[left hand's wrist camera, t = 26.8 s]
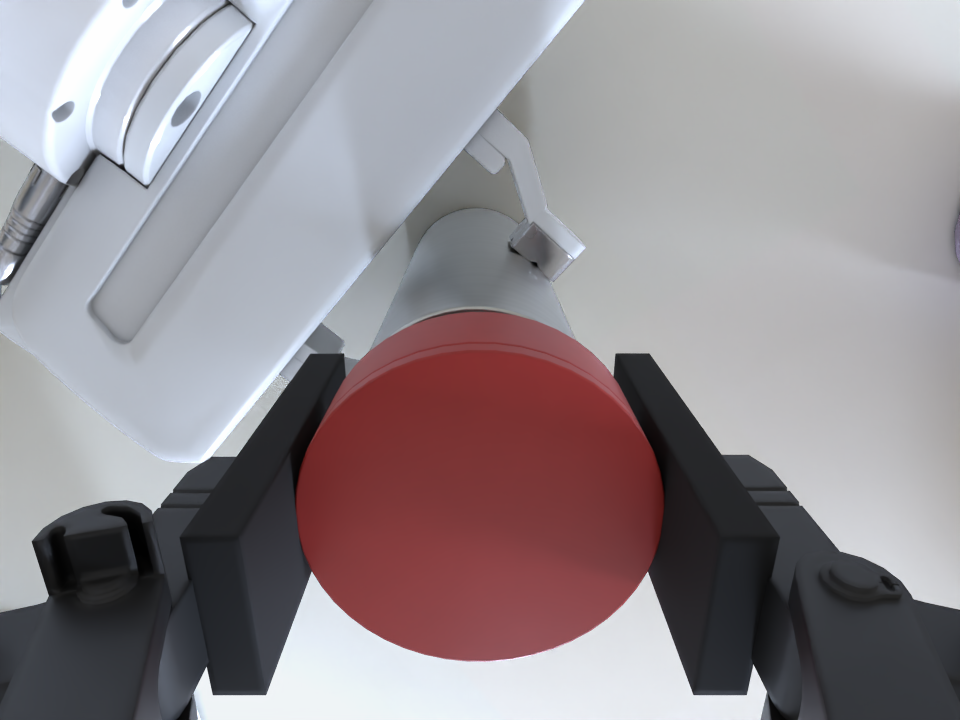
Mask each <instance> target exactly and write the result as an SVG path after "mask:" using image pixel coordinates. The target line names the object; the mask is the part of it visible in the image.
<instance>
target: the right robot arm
mask: <svg viewBox="0 0 960 720" xmlns="http://www.w3.org/2000/svg"><path fill="white" fill-rule="evenodd" d="M584 1H585V0H0V137H1V138H2V139H3V140H5V141H6V142H7V143H9V144H10V145H11V146H13V147H14V148H15V149H17V150H18V151H19V152H21V153H22V154H24V155H25V156H26V157H28V158H29V159H30V160H32V161H33V162H34V163H35V164H34V165H33V167H32V169H31V171H30V173H29V174H28V176H27V178H26V180H25V181H24V183H23V185H22V187H21V188H20V190H19V192H18V194H17V196H16V198H15V200H14V202H13V205H12V207H11V210H10V213H9V215H8V218H7V220H6V222H5V224H4V226H3V227H2V229H1V230H0V332H1V333H2V334H3V335H5V336H6V337H7V338H8V339H10V340H11V341H13V342H14V343H16V344H17V345H19V346H20V347H22V348H23V349H25V350H26V351H28V352H29V353H31V354H32V355H34V356H35V357H36V358H37V359H38V360H39V361H40V362H41V363H42V364H43V365H44V366H45V367H46V368H47V369H48V370H49V371H50V372H51V373H52V374H53V375H54V376H56V377H57V378H58V379H59V380H60V381H61V382H62V383H63V384H64V385H66V386H67V387H68V388H69V389H70V390H71V391H72V392H73V393H75V394H76V395H77V396H78V397H79V398H80V399H82V400H83V401H84V402H85V403H86V404H88V405H89V406H90V407H91V408H92V409H94V410H95V411H96V412H97V413H98V414H100V415H101V416H102V417H103V418H105V419H106V420H107V421H108V422H110V423H111V424H112V425H113V426H115V427H116V428H117V429H119V430H120V431H121V432H123V433H124V434H125V435H126V436H128V437H129V438H130V439H132V440H133V441H134V442H136V443H137V444H139V445H140V446H141V447H143V448H144V449H146V450H147V451H149V452H150V453H152V454H153V455H155V456H156V457H158V458H160V459H162V460H165V461H169V462H183V463H203V462H204V461H206V460H207V459H209V458H210V457H211V456H212V455H213V453H214V452H215V451H216V450H217V449H218V447H219V446H220V445H221V444H222V443H223V441H224V440H225V439H226V438H227V436H228V435H229V434H230V433H231V432H232V430H233V429H234V428H235V427H236V426H237V424H238V423H239V422H240V421H241V419H242V418H243V417H244V416H245V415H246V413H247V412H248V411H249V410H250V409H251V407H252V406H253V405H254V404H255V402H256V401H257V400H258V399H259V398H260V396H261V395H262V394H263V393H264V391H265V390H266V389H267V388H268V386H269V385H270V384H271V383H272V382H273V380H274V379H275V378H276V377H277V375H278V374H280V375H281V376H283V377H284V378H286V379H287V380H288V381H291V380H292V379H293V377H294V376H295V374H296V373H297V372H298V370H299V369H300V367H301V366H302V365H303V363H304V362H305V360H306V359H307V357H308V356H309V355H310V354H340V353H341V351H342V349H343V347H344V346H345V345H344V341H343V340H342V339H341V338H340V337H338V336H337V335H336V334H334V333H333V332H332V331H331V330H329V329H328V328H327V327H326V326H324V325H323V324H322V323H321V322H322V321H323V319H324V318H325V317H326V316H327V314H328V313H329V312H330V311H331V310H332V308H333V307H334V306H335V305H336V303H337V302H338V301H339V300H340V299H341V297H342V296H343V295H344V294H345V293H346V291H347V290H348V289H349V288H350V286H351V285H352V284H353V283H354V282H355V280H356V279H357V278H358V277H359V275H360V274H361V273H362V272H363V271H364V269H365V268H366V267H367V266H368V264H369V263H370V262H371V261H372V260H373V258H374V257H375V256H376V255H377V253H378V252H379V251H380V250H381V249H382V247H383V246H384V245H385V244H386V242H387V241H388V240H389V239H390V238H391V236H392V235H393V234H394V233H395V232H396V230H397V229H398V228H399V227H400V225H401V224H402V223H403V222H404V221H405V219H406V218H407V217H408V216H409V214H410V213H411V212H412V211H413V210H414V208H415V207H416V206H417V205H418V203H419V202H420V201H421V200H422V199H423V197H424V196H425V195H426V194H427V192H428V191H429V190H430V189H431V188H432V186H433V185H434V184H435V183H436V181H437V180H438V179H439V178H440V177H441V175H442V174H443V173H444V172H445V171H446V169H447V168H448V167H449V166H450V164H451V163H452V162H453V161H454V160H455V158H456V157H457V156H458V155H459V153H460V152H461V151H462V150H463V149H464V150H465V151H466V152H467V153H468V154H469V155H471V156H472V157H473V158H474V159H475V160H476V161H477V162H478V163H479V164H481V165H482V166H483V167H484V168H485V169H486V170H487V171H488V172H489V173H491V174H496V173H498V172H499V171H500V169H501V168H502V167H503V166H504V165H505V158H506V159H507V162H508V165H509V168H510V171H511V174H512V178H513V181H514V184H515V187H516V190H517V193H518V197H519V200H520V203H521V206H522V209H523V213H524V216H525V218H524V219H523V221H522V222H521V223H520V224H519V225H518V227H517V228H516V229H515V230H514V231H513V232H512V234H511V235H510V236H509V237H510V240H511V241H512V242H511V245H512V247H513V248H514V249H515V250H516V251H517V252H518V253H519V254H520V255H522V256H523V257H525V258H526V259H527V260H529V261H530V262H536V264H537V266H538V269H539V270H540V271H541V272H542V273H543V274H544V276H545V277H547V278H548V279H549V280H550V281H552V282H554V281H555V280H556V279H557V278H558V277H559V275H560V274H561V273H562V272H563V271H564V270H565V269H566V268H567V267H568V266H569V265H570V264H571V263H572V262H573V261H574V260H575V259H576V258H577V257H578V255H579V254H580V253H581V252H582V251H583V250H584V249H585V248H586V246H585V245H584V244H583V243H582V241H581V240H580V239H579V238H578V237H577V236H576V235H575V234H574V233H573V232H572V231H571V230H570V229H569V228H568V227H567V226H566V225H564V224H563V223H562V222H561V221H560V220H559V219H558V218H557V217H556V216H555V215H554V214H553V213H551V212H550V211H549V210H548V209H547V208H546V207H547V206H548V205H547V202H546V199H545V195H544V192H543V188H542V185H541V182H540V178H539V175H538V171H537V168H536V165H535V161H534V158H533V154H532V151H531V148H530V144H529V141H528V139H527V138H526V137H525V136H524V135H523V134H522V133H521V132H520V131H519V130H518V129H517V128H516V127H515V126H514V125H513V124H512V123H511V122H510V121H509V120H508V119H507V118H506V117H505V116H504V115H503V114H502V113H500V112H499V111H498V110H497V109H496V108H497V107H498V106H499V105H500V103H501V102H502V101H503V100H504V99H505V97H506V96H507V95H508V94H509V92H510V91H511V90H512V89H513V88H514V86H515V85H516V84H517V83H518V81H519V80H520V79H521V78H522V77H523V75H524V74H525V73H526V72H527V70H528V69H529V68H530V67H531V66H532V64H533V63H534V62H535V61H536V60H537V58H538V57H539V56H540V55H541V54H542V52H543V51H544V50H545V49H546V47H547V46H548V45H549V44H550V43H551V41H552V40H553V39H554V38H555V36H556V35H557V34H558V33H559V32H560V30H561V29H562V28H563V27H564V25H565V24H566V23H567V22H568V21H569V19H570V18H571V17H572V16H573V14H574V13H575V12H576V11H577V10H578V8H579V7H580V6H581V5H582V3H583V2H584ZM2 285H8V287H7V288H6V290H5V292H4V293H3V295H2V294H1V288H2ZM344 359H345V371H346V377H347V375H348V374H349V373H350V371H351V370H352V369H353V367H354V366H355V365H356V364H357V363H358V362H359V361H360V360H355V359H350V358H346V357H344ZM197 715H198V720H201V719H200V716H199V713H198V711H197Z"/></svg>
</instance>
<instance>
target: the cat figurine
mask: <svg viewBox="0 0 960 720" xmlns="http://www.w3.org/2000/svg"><path fill="white" fill-rule="evenodd" d="M955 246H956V255H957V258H958V260H959V262H960V214H959V217H958V221H957V225H956V228H955Z"/></svg>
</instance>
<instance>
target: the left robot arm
mask: <svg viewBox="0 0 960 720" xmlns="http://www.w3.org/2000/svg"><path fill="white" fill-rule="evenodd" d="M345 378H346V371H345V359H344V354H310V355H309V356H308V357H307V359H306V360H305V362H304V363H303V365H302V366H301V367H300V369H299V370H298V372H297V373H296V374H295V376H294V377H293V379H292V380H291V381H290V383H289V384H288V386H287V387H286V388H285V390H284V391H283V393H282V394H281V395H280V397H279V398H278V400H277V401H276V402H275V404H274V405H273V407H272V408H271V409H270V411H269V412H268V414H267V415H266V416H265V418H264V419H263V421H262V422H261V423H260V425H259V426H258V428H257V429H256V430H255V432H254V433H253V435H252V436H251V437H250V439H249V440H248V442H247V443H246V444H245V446H244V447H243V449H242V450H241V451H240V453H239V454H238V456H237V457H211V458H209V459H207V460H206V461H204V462H203V463H201V464H200V465H198V466H196V467H195V468H193V469H192V470H190V471H189V472H187V473H186V475H185V476H184V477H183V478H182V480H181V481H180V482H179V483H178V484H177V486H176V487H175V488H174V489H173V493H170V494H169V495H168V497H167V498H166V499H165V500H164V501H163V503H162V504H161V508H158V509H157V510H156V511H155V512H154V514H153V515H152V511H151V510H150V509H149V508H147V507H146V506H145V505H144V504H142V503H137V502H132V501H127V500H124V501H108V502H102V503H98V504H94V505H90V506H86V507H82V508H80V509H78V510H75V511H73V512H71V513H68V514H66V515H64V516H61V517H60V518H58V519H57V520H55V521H54V522H52V523H51V524H49V525H48V526H46V527H44V528H43V529H42V530H41V531H40V533H39V534H38V535H37V536H36V537H35V538H34V539H33V541H32V544H33V547H34V550H35V553H36V557H37V560H38V563H39V566H40V569H41V572H42V575H43V579H44V582H45V585H46V588H47V591H48V594H49V597H48V599H47V601H46V602H45V603H41V604H38V605H34V606H29V607H25V608H20V609H15V610H11V611H6V612H1V613H0V720H198V715H197V709H196V703H195V699H194V694H193V693H194V691H195V689H196V686H197V684H198V682H199V680H200V678H201V676H202V674H203V672H204V670H205V668H206V666H207V670H208V674H209V679H210V684H211V688H212V693H213V695H266V694H267V691H268V688H269V686H270V683H271V680H272V677H273V675H274V672H275V669H276V667H277V664H278V661H279V658H280V656H281V653H282V650H283V648H284V645H285V642H286V640H287V637H288V634H289V631H290V629H291V626H292V623H293V621H294V618H295V615H296V612H297V610H298V607H299V604H300V602H301V599H302V596H303V593H304V591H305V588H306V585H307V583H308V580H309V577H310V574H311V572H312V570H311V568H310V566H309V564H308V562H307V559H306V557H305V555H304V552H303V550H302V546H301V542H300V539H299V532H298V524H297V516H296V507H295V495H296V486H297V481H298V476H299V471H300V467H301V465H302V462H303V459H304V456H305V454H306V451H307V448H308V447H309V445H310V443H311V441H312V439H313V437H314V435H315V433H316V431H317V429H318V427H319V425H320V423H321V421H322V420H323V418H324V416H325V414H326V412H327V410H328V408H329V406H330V404H331V402H332V400H333V398H334V397H335V395H336V393H337V391H338V389H339V388H340V386H341V384H342V382H343V381H344V379H345ZM614 379H615V380H616V381H617V383H618V384H619V386H620V388H621V390H622V392H623V394H624V396H625V398H626V399H627V401H628V403H629V405H630V407H631V409H632V411H633V413H634V415H635V417H636V419H637V421H638V422H639V424H640V426H641V428H642V430H643V432H644V434H645V436H646V438H647V440H648V442H649V444H650V446H651V447H652V449H653V451H654V454H655V457H656V460H657V463H658V466H659V469H660V471H661V477H662V482H663V488H664V512H663V521H662V528H661V536H660V541H659V545H658V548H657V551H656V554H655V557H654V559H653V561H652V563H651V565H650V567H649V569H648V573H649V575H650V578H651V581H652V584H653V586H654V589H655V592H656V594H657V597H658V600H659V603H660V605H661V608H662V611H663V613H664V616H665V619H666V622H667V624H668V627H669V630H670V632H671V635H672V638H673V641H674V643H675V646H676V649H677V651H678V654H679V657H680V660H681V662H682V665H683V668H684V670H685V673H686V676H687V678H688V681H689V684H690V687H691V689H692V692H693V695H747V691H748V686H749V682H750V677H751V672H752V668H753V664H754V666H755V668H756V670H757V672H758V674H759V676H760V678H761V680H762V682H763V684H764V686H765V688H766V690H767V694H766V699H765V703H764V708H763V712H762V716H761V720H960V610H958V609H953V608H948V607H944V606H939V605H934V604H929V603H925V602H921V601H918V600H914V599H913V598H912V596H911V594H910V593H909V592H908V590H907V589H906V587H905V586H904V585H903V583H902V582H901V581H900V580H899V579H897V578H896V577H895V576H893V575H892V574H891V573H890V572H888V571H887V570H886V569H884V568H883V567H881V566H878V565H876V564H874V563H872V562H870V561H868V560H866V559H864V558H861V557H858V556H854V555H850V554H847V553H843V552H840V551H839V550H838V549H837V548H836V546H835V545H834V544H833V543H832V542H831V540H830V539H829V538H828V537H827V535H826V534H825V533H824V532H823V531H822V529H821V528H820V527H819V526H818V525H817V523H816V522H815V521H814V520H813V519H812V517H811V516H810V515H809V514H808V513H807V511H806V510H805V509H804V508H803V506H799V502H798V500H797V499H796V498H795V497H794V496H793V494H792V493H791V492H790V491H787V487H786V486H785V485H784V483H783V482H782V481H781V480H780V479H779V477H778V476H777V475H776V474H775V473H774V471H773V470H772V469H770V468H768V467H767V466H765V465H764V464H762V463H761V462H759V461H757V460H756V459H754V458H753V457H751V456H749V455H721V453H720V452H719V451H718V449H717V448H716V446H715V445H714V444H713V442H712V441H711V439H710V438H709V437H708V435H707V434H706V432H705V431H704V430H703V428H702V427H701V425H700V424H699V423H698V421H697V420H696V418H695V417H694V416H693V414H692V413H691V411H690V410H689V409H688V407H687V406H686V404H685V403H684V402H683V400H682V399H681V397H680V396H679V394H678V393H677V392H676V390H675V389H674V387H673V386H672V385H671V383H670V382H669V380H668V379H667V378H666V376H665V375H664V373H663V372H662V371H661V369H660V368H659V366H658V365H657V364H656V362H655V361H654V359H653V358H652V357H651V355H650V354H616V355H615V367H614Z"/></svg>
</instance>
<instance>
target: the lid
mask: <svg viewBox="0 0 960 720" xmlns="http://www.w3.org/2000/svg"><path fill="white" fill-rule="evenodd" d="M295 507H296V516H297V524H298V532H299V539H300V542H301V546H302V550H303V552H304V555H305V557H306V559H307V562H308V564H309V566H310V568H311V570H312V572H313V574H314V575H315V577H316V578H317V580H318V582H319V583H320V585H321V586H322V588H323V589H324V590H325V591H326V593H327V594H328V595H329V596H330V597H331V599H332V600H333V601H334V602H335V603H336V604H337V605H338V606H339V607H340V608H341V609H342V610H343V611H344V612H345V613H346V614H347V615H348V616H350V617H351V618H352V619H354V620H355V621H356V622H358V623H359V624H360V625H362V626H363V627H364V628H366V629H367V630H369V631H371V632H372V633H374V634H376V635H378V636H379V637H381V638H383V639H385V640H387V641H389V642H391V643H394V644H396V645H398V646H400V647H403V648H405V649H408V650H412V651H415V652H418V653H421V654H424V655H429V656H433V657H438V658H443V659H450V660H459V661H484V662H489V661H500V660H511V659H516V658H521V657H526V656H532V655H535V654H538V653H542V652H545V651H548V650H551V649H554V648H557V647H559V646H561V645H564V644H566V643H568V642H571V641H573V640H575V639H577V638H578V637H580V636H582V635H584V634H586V633H587V632H589V631H591V630H592V629H594V628H595V627H596V626H598V625H599V624H601V623H602V622H603V621H605V620H606V619H608V618H609V617H610V616H611V615H612V614H613V613H614V612H615V611H616V610H618V609H619V608H620V607H621V606H622V605H623V604H624V603H625V602H626V600H627V599H628V598H629V597H630V596H631V595H632V593H633V592H634V591H635V590H636V589H637V587H638V586H639V584H640V582H641V581H642V579H643V578H644V576H645V575H646V573H647V572H648V569H649V567H650V565H651V563H652V561H653V559H654V557H655V554H656V551H657V548H658V545H659V541H660V536H661V528H662V521H663V512H664V488H663V482H662V477H661V471H660V469H659V466H658V463H657V460H656V457H655V454H654V451H653V449H652V447H651V446H650V444H649V442H648V440H647V438H646V436H645V434H644V432H643V430H642V428H641V426H640V424H639V422H638V421H637V419H636V417H635V415H634V413H633V411H632V409H631V407H630V405H629V403H628V401H627V399H626V398H625V396H624V394H623V392H622V390H621V388H620V386H619V384H618V383H617V381H616V380H615V379H614V377H613V376H612V374H611V373H610V372H609V370H608V369H607V368H606V367H605V366H604V364H603V363H602V362H601V361H600V360H599V359H598V358H597V357H596V356H595V355H594V354H593V353H592V352H590V351H589V350H588V349H586V348H585V347H584V346H583V345H581V344H580V343H579V342H577V341H576V340H575V339H573V338H571V337H569V336H568V335H566V334H564V333H562V332H561V331H559V330H557V329H555V328H553V327H550V326H548V325H545V324H543V323H540V322H538V321H535V320H531V319H527V318H524V317H520V316H516V315H510V314H503V313H495V312H466V313H457V314H448V315H444V316H440V317H436V318H432V319H428V320H425V321H422V322H420V323H417V324H414V325H412V326H409V327H407V328H405V329H403V330H401V331H399V332H397V333H396V334H394V335H392V336H390V337H388V338H387V339H385V340H384V341H382V342H381V343H380V344H378V345H377V346H376V347H374V348H373V349H372V350H370V351H369V352H368V353H367V354H366V355H365V356H364V357H363V358H362V359H361V360H360V361H359V362H358V363H357V364H356V365H355V366H354V367H353V369H352V370H351V371H350V373H349V374H348V375H347V377H346V378H345V379H344V381H343V382H342V384H341V386H340V388H339V389H338V391H337V393H336V395H335V397H334V398H333V400H332V402H331V404H330V406H329V408H328V410H327V412H326V414H325V416H324V418H323V420H322V421H321V423H320V425H319V427H318V429H317V431H316V433H315V435H314V437H313V439H312V441H311V443H310V445H309V447H308V448H307V451H306V454H305V456H304V459H303V462H302V465H301V467H300V471H299V476H298V481H297V486H296V495H295Z"/></svg>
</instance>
